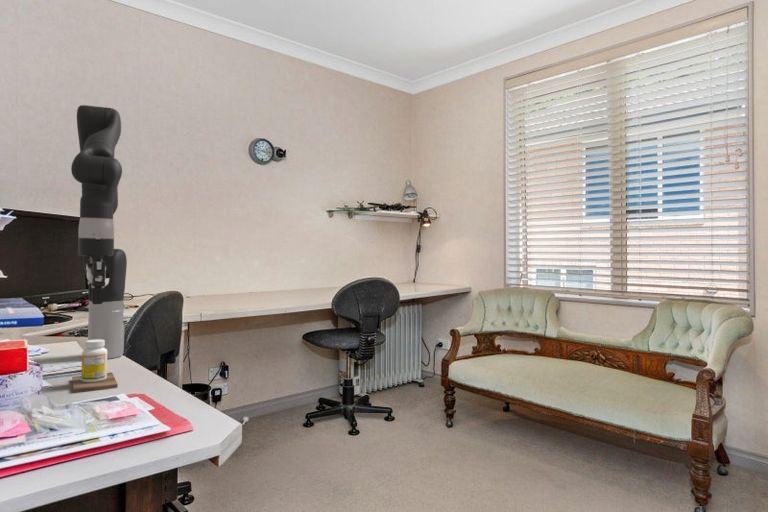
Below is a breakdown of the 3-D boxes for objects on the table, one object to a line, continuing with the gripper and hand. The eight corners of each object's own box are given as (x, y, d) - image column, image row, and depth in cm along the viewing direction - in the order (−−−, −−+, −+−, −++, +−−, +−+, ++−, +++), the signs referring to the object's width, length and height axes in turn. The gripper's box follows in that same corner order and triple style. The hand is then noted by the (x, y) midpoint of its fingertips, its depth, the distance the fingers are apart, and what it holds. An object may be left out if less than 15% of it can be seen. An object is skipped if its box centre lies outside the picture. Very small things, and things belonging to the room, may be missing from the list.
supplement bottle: (99, 383, 111) (100, 342, 111) (76, 383, 110) (77, 342, 110) (111, 377, 116) (112, 338, 116) (88, 377, 116) (89, 338, 116)
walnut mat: (72, 380, 116) (72, 376, 116) (112, 375, 121) (112, 372, 121) (73, 392, 105) (73, 389, 105) (117, 387, 110) (117, 384, 110)
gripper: (76, 236, 119) (75, 299, 119) (80, 236, 107) (79, 306, 108) (110, 237, 123) (109, 298, 124) (117, 237, 112) (116, 304, 112)
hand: (95, 302), depth 116 cm, fingers open, 8 cm apart
